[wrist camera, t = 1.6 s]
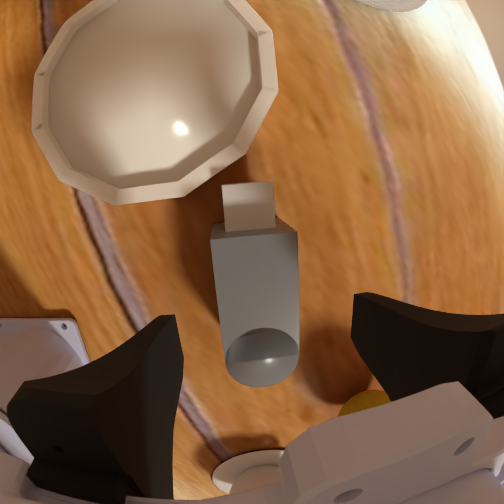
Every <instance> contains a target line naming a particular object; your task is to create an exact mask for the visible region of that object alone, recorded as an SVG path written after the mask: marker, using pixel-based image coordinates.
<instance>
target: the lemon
mask: <svg viewBox="0 0 504 504" xmlns="http://www.w3.org/2000/svg"><path fill="white" fill-rule="evenodd" d="M389 402H391V401H390V399H389V397H388V395H387V394H386V392H385V391H381V390H367V391H363V392H360V393H358V394H356V395H355V396H353V397H351V398H350V399H349V400H348V401H347V402H346V403H345V404H344V406H343V407H342V409H341V411H340V413H339V415H338V417H339V416H343V415H347V414H351V413H355V412H359V411H362V410H366V409H370V408H373V407H376V406H380V405H383V404H386V403H389Z"/></svg>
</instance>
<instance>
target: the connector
mask: <svg viewBox="0 0 504 504" xmlns="http://www.w3.org/2000/svg"><path fill="white" fill-rule="evenodd" d="M222 197H223V209H224V220H225V222H222V223H212V230H211V237H210V243H211V252H212V262H213V271H214V279H215V288H216V296H217V304H218V312H219V320H220V327H221V335H222V342H223V349H224V356H225V363H226V368H227V370H228V372H229V374H230V375H231V376H232V377H233V378H234V379H235V380H236V381H238V382H239V383H241V384H243V385H246V386H250V387H267V386H271V385H275V384H277V383H279V382H281V381H283V380H284V379H286V378H287V377H288V376H289V375H290V374H291V373H292V372H293V371H294V369H295V368H296V366H297V363H298V360H299V270H298V237H297V231H296V230H294V229H293V228H292V227H290V226H289V225H287V224H286V223H285V222H283V221H282V220H281V219H279V218H275V204H274V188H273V182H271V181H260V182H247V183H234V184H222Z"/></svg>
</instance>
